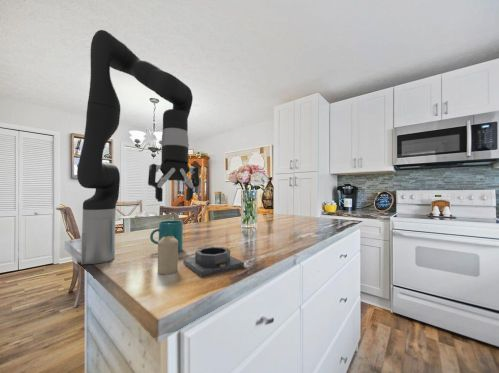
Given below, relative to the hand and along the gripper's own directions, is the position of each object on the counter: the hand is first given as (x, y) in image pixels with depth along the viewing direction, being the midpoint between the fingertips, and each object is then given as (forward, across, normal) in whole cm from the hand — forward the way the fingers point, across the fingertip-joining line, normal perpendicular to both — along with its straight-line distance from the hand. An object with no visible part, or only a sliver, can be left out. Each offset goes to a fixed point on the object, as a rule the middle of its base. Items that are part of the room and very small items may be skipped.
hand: (174, 201), depth 64 cm
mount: (+20, -11, +2) cm, 23 cm away
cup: (+20, -6, -24) cm, 32 cm away
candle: (+21, +1, -1) cm, 21 cm away
